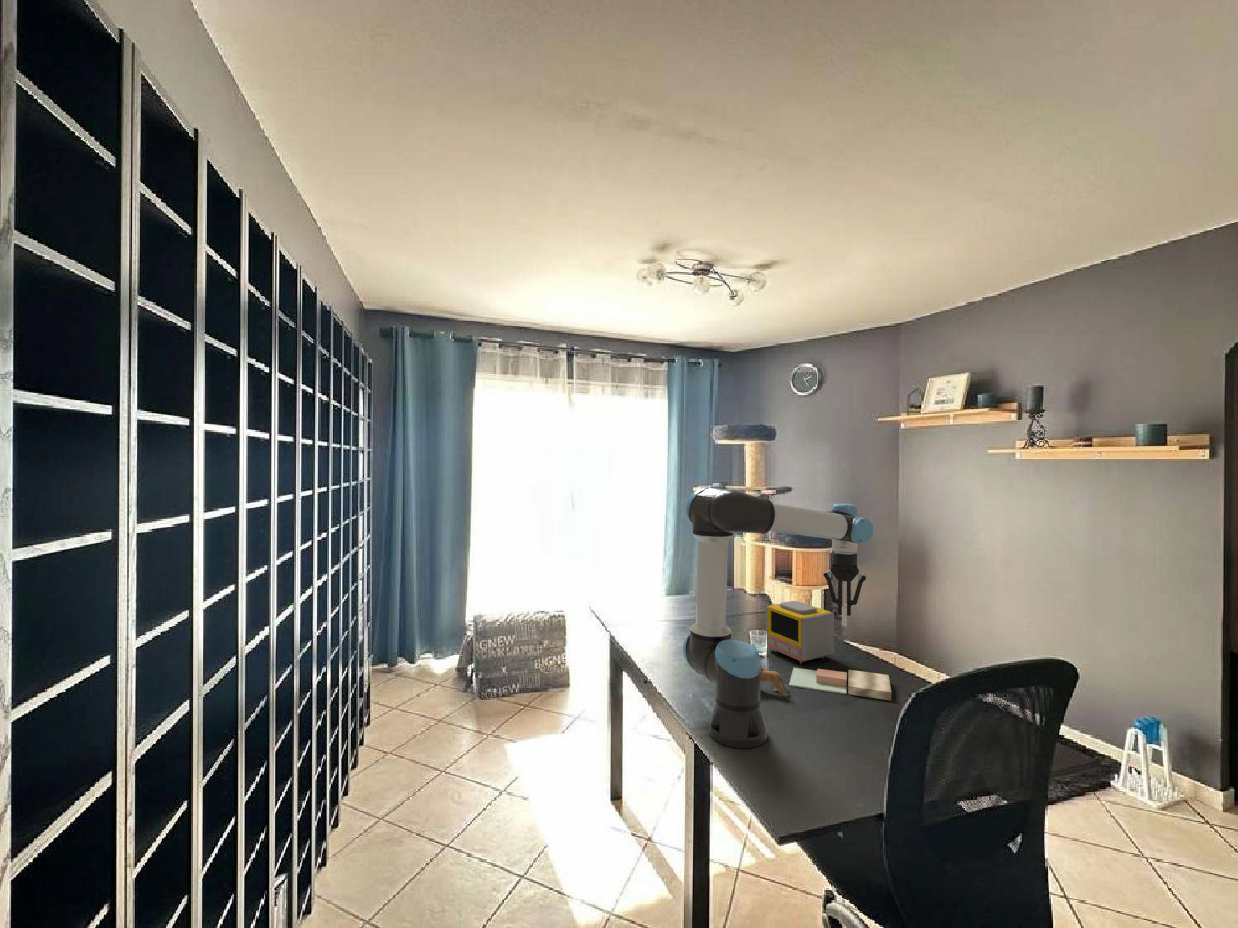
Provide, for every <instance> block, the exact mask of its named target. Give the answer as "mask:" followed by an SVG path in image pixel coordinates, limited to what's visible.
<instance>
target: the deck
mask: <svg viewBox="0 0 1238 928" xmlns="http://www.w3.org/2000/svg"><path fill="white" fill-rule="evenodd" d="M847 682H848V683H847V694H848V695H852V696H859V697H865V698H871V699H872V698H873V699H878V700H886V701H892V688H891V681H890V676H889V674H886V673H885V674H884V673H877V672H869V671H862V670H861V671H860V670H853V669H848V671H847Z"/></svg>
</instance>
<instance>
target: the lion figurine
mask: <svg viewBox="0 0 1238 928" xmlns="http://www.w3.org/2000/svg"><path fill="white" fill-rule="evenodd" d="M780 681H781V682H780ZM761 682H762V683H765V684H766V683H767V684H768V683H771V682H772V684H773V686H774V687H775V688H773V689H772V691H773V692H778V691H779V692H780V693H779V694H778V696H779V697H780V698H781V697H784V695H785V693H786V694H788V695H789V694H791V692H790V691H789V690H787V689H786V685H785V681H784V679H783V677H782V675H781V674H780V672H777V671H774V670H773V671H771V670H770V671H769V670H764V669H763V668H762V667H761ZM761 682H760V683H761ZM780 683H781V684H780ZM781 685H782V686H781ZM784 691H785V693H784Z"/></svg>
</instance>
